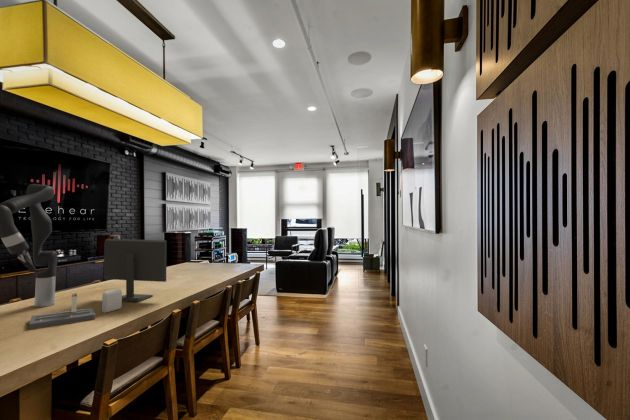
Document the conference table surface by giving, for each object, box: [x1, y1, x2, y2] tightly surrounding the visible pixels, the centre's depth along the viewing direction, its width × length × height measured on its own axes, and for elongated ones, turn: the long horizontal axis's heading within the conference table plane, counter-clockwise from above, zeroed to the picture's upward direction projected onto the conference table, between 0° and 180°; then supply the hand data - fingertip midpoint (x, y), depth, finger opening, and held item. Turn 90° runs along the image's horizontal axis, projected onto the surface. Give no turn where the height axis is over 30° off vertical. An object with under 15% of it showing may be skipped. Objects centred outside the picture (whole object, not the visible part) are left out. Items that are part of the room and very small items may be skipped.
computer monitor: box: [103, 238, 168, 303], centre depth 208 cm, size 44×16×40 cm, turn 84°
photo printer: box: [101, 288, 123, 314], centre depth 181 cm, size 10×4×12 cm, turn 156°
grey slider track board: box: [28, 307, 96, 330], centre depth 163 cm, size 16×26×4 cm, turn 130°
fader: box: [69, 293, 78, 313], centre depth 166 cm, size 4×3×10 cm
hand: (33, 271), depth 162 cm, fingers closed
